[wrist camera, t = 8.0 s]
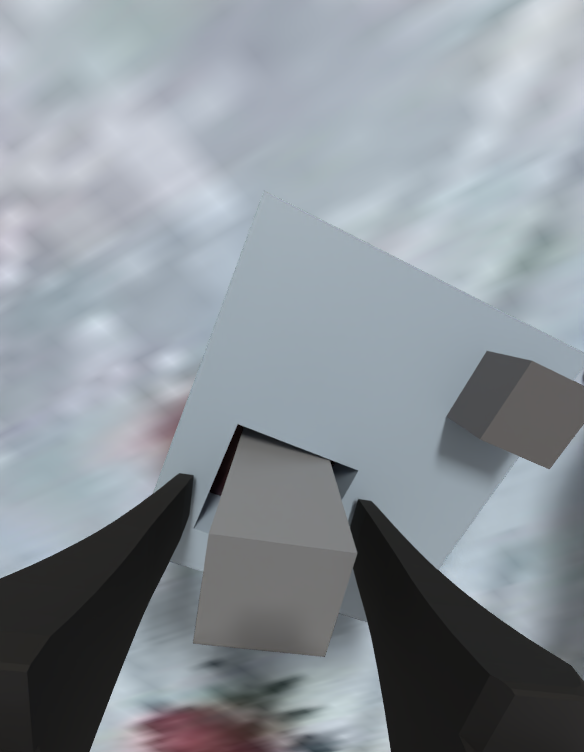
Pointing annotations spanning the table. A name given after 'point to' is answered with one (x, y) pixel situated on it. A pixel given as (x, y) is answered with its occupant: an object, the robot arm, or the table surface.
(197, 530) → the socket plate
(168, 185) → the table surface
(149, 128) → the table surface
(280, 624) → the grey rectangular block
